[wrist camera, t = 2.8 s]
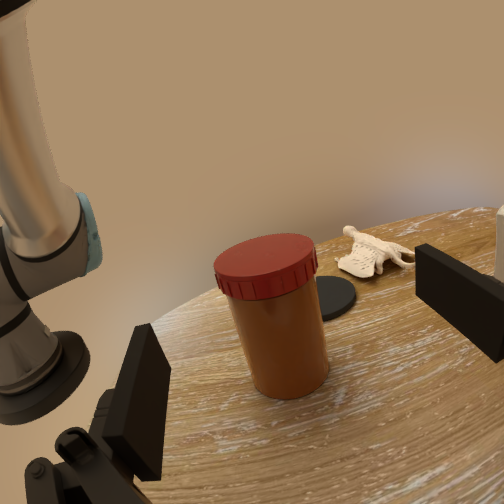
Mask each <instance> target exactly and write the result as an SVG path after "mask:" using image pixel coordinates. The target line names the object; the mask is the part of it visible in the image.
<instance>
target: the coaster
mask: <svg viewBox="0 0 504 504" xmlns="http://www.w3.org/2000/svg"><path fill="white" fill-rule="evenodd" d="M316 281H317V287H318V293H319V300H320V306H321V313H322V319H323V321H326V320H330V319H333V318H335V317H337V316H340V315H341V314H343V313H345V312H346V311H347V310H348V309H350V308H351V306H352V305H353V304H354V302H355V299H356V292H355V288H354V286H353V284H352V283H351V282H350V281H348V280H346V279H344V278H341V277H336V276H317V277H316Z"/></svg>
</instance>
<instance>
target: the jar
mask: <svg viewBox="0 0 504 504" xmlns="http://www.w3.org/2000/svg"><path fill="white" fill-rule="evenodd" d="M226 297H227V300H228V304H229V307H230V310H231V313H232V316H233V320H234V323H235V326H236V329H237V332H238V335H239V338H240V342H241V345H242V348H243V351H244V354H245V357H246V360H247V363H248V366H249V369H250V372H251V375H252V378H253V381H254V384H255V386H256V388H257V389H258V390H259V391H260V392H261V393H262V394H264V395H266V396H268V397H271V398H275V399H295V398H299V397H302V396H305V395H307V394H309V393H311V392H313V391H314V390H316V389H317V388H318V387H319V386H320V385H321V384H322V383H323V382H324V381H325V379H326V377H327V375H328V372H329V363H328V355H327V348H326V340H325V333H324V326H323V319H322V313H321V306H320V300H319V293H318V287H317V281H316V275H314V276H313V277H312V278H311V279H310V280H309V281H308V282H307V283H305V284H304V285H302V286H301V287H299V288H297V289H295V290H293V291H290V292H288V293H285V294H282V295H279V296H275V297H271V298H266V299H258V300H241V299H235V298H232V297H229V296H227V295H226Z"/></svg>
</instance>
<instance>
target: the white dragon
mask: <svg viewBox="0 0 504 504" xmlns="http://www.w3.org/2000/svg"><path fill="white" fill-rule="evenodd" d="M343 233H344V235H347V236H349V237H352V238H353V240H354V241H355V243H353V244H354V245H352V246H353V248H351V249H352V252H351V254H350V255H347V254H346V256H345V257H341V259H340V260H338V258H335V259H334V260H335V261H337V262H338V267H339V268H341V269H343V270H345V271H347V272H349V273H351V274H353V275H355V276H358V277H370V276H372V275H373V274H374V272H376V273H377V274H382V271H383V270H382V269H383V268H382V267H383V266H382V262H383V261H384V260H386V259H389V258H391V260H392V258H393V259H394V260H392V262H394V263H396V264H398V265H399V266H401V268H402V266H403V270H404V269H405V268H406V270H407V268H408V269H411V268H413V265H414V269H415V263H406V262H404V261H402V259H401V255H402V254H401V253H399V252H398V251H400V252H405V253H411V254H415V252H412V251H410V250H408V248H404V247H402V246H400V245H397V244H395V243H394V242H393V243H391V242H385V241H381V240H380V239H378V238H375V237H374V236H370V235H368V234H366V233H359V232H358V231H357V230H356V229H355V227H352V226H345V227H344V229H343ZM413 260H414V259H413ZM375 262H376V267H377V269H378V270H377V269H375V268H374V265H375ZM383 263H384V262H383ZM383 272H384V271H383Z"/></svg>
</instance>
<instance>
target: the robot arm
mask: <svg viewBox="0 0 504 504" xmlns="http://www.w3.org/2000/svg"><path fill="white" fill-rule="evenodd" d="M36 1H37V0H0V215H1V216H2V218H3V226H2V227H0V395H1V396H4V397H15V396H19V395H22V394H25V393H27V392H29V391H31V390H33V389H35V388H36V387H38V386H39V385H41V384H42V383H43V382H45V381H46V380H47V379H48V378H49V377H50V376H51V375H52V374H53V373H54V372H55V371H56V369H57V368H58V367H59V365H60V364H61V362H62V360H63V357H64V348H63V346H62V344H61V342H60V341H59V339H58V338H57V337H56V335H54V334H53V333H52V332H50V329H49V328H48V327H47V326H46V325H44V324H43V323H42V322H41V321H40V320H39V319H38V318H37V316H36V315H35V314H34V313H33V311H32V310H31V308H30V305H29V303H28V301H27V300H29V299H31V298H33V297H35V296H38V295H40V294H42V293H44V292H46V291H48V290H51V289H53V288H55V287H57V286H59V285H62V284H64V283H66V282H68V281H71V280H73V279H75V278H77V277H83V276H85V275H86V274H87V273H88V272H90V271H92V270H94V269H96V268H98V267H99V266H100V264H101V262H102V247H101V242H100V237H99V235H98V230H97V225H96V221H95V217H94V214H93V211H92V208H91V205H90V202H89V200H88V198H87V196H86V195H85V194H84V193H75V192H74V191H73V190H72V189H71V188H70V187H69V186H68V185H66V184H64V183H61V182H60V179H59V176H58V173H57V170H56V166H55V163H54V160H53V156H52V153H51V150H50V146H49V143H48V139H47V135H46V131H45V127H44V124H43V119H42V116H41V111H40V107H39V102H38V98H37V93H36V88H35V83H34V78H33V72H32V66H31V60H30V54H29V47H28V39H27V31H26V21H25V17H26V15H27V12H28V11H29V10H30V9H31V7H32V6H33V5H34V4H35V2H36ZM415 276H416V296H418V297H419V298H420V299H421V300H422V301H424V302H425V303H426V304H427V305H429V306H430V307H431V308H432V309H433V310H435V311H436V312H437V313H438V314H440V315H441V316H442V317H443V318H444V319H446V320H447V321H448V322H449V323H450V324H451V325H453V326H454V327H455V328H456V329H457V330H458V331H460V332H461V333H462V334H463V335H464V336H465V337H467V338H468V339H469V340H470V341H471V342H472V343H473V344H475V345H476V346H477V347H478V348H479V349H480V350H481V351H482V352H484V353H485V354H486V355H487V356H488V357H489V358H490V359H491V360H492V361H494V362H495V363H498V362H499V361H501V360H502V359H504V283H503V282H502V283H501V281H500V280H498V279H496V278H495V277H493V276H489V275H485V274H481V273H479V272H477V271H476V270H474V269H472V268H470V267H469V266H467V265H465V264H463V263H462V262H460V261H458V260H456V259H454V258H453V257H451V256H449V255H447V254H445V253H444V252H442V251H440V250H438V249H436V248H434V247H432V246H431V245H429V244H427V243H425V244H423V245H420V246H417V247H415ZM170 375H171V367H170V365H169V363H168V361H167V359H166V357H165V354H164V352H163V350H162V348H161V346H160V344H159V342H158V340H157V337H156V335H155V333H154V331H153V329H152V326H151V324H150V323H148V324H144V325H139V326H135V328H134V331H133V334H132V337H131V340H130V343H129V346H128V349H127V352H126V355H125V358H124V361H123V364H122V367H121V370H120V374H119V377H118V380H117V383H116V386H115V389H108V390H106V391H105V392H104V393H103V395H102V396H101V397H100V399H99V401H98V404H97V407H96V409H97V410H95V413H94V418H93V420H92V423H91V426H90V429H89V433H87V432H86V431H85V430H84V429H83V428H80V427H72V428H69V429H67V430H65V431H64V432H62V433H61V434H60V435H59V437H58V438H57V440H56V442H55V451H56V452H57V453H58V454H59V455H60V456H61V457H62V459H64V461H65V462H62V463H59V464H55V465H53V464H52V463H51V462H50V461H49V460H48V459H47V458H43V457H40V458H36V459H34V460H33V461H31V462H30V463H29V464H28V465H27V468H26V469H25V488H26V498H27V504H152V502H151V501H150V500H149V499H148V498H147V497H146V496H145V495H144V494H143V493H142V492H141V491H140V489H139V488H138V487H137V486H136V485H135V484H134V483H133V479H134V474H135V475H136V476H137V477H138V478H139V479H140V480H141V481H142V482H144V481H160V480H161V474H162V459H163V446H164V433H165V422H166V412H167V402H168V392H169V383H170Z"/></svg>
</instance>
